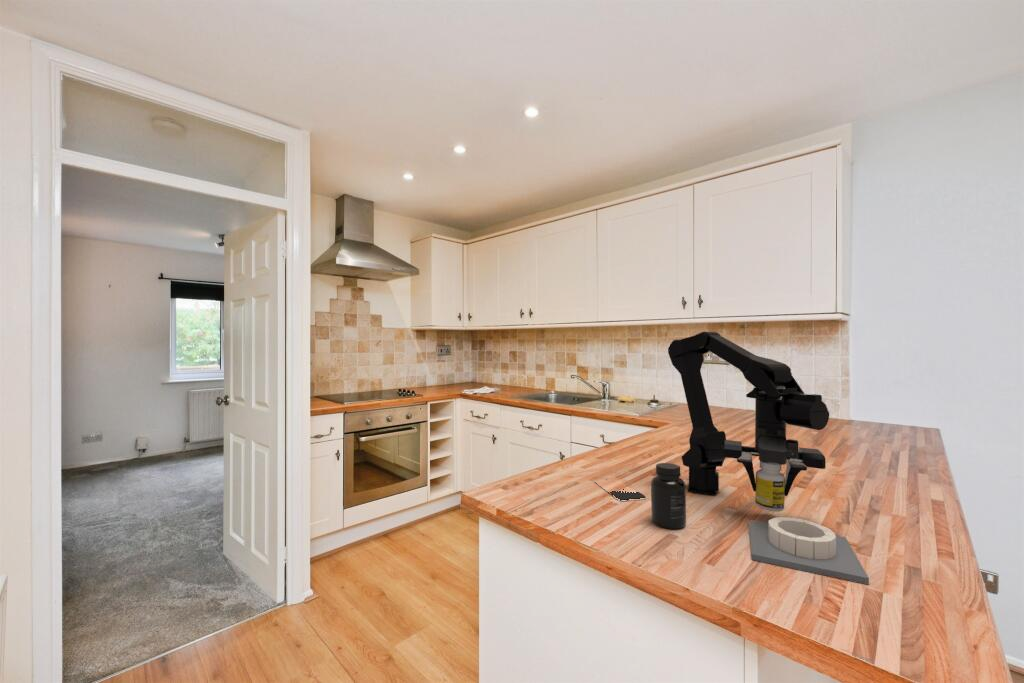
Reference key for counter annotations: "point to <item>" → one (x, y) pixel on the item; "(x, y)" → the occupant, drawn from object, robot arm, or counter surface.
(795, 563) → the bottle holder
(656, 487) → the supplement bottle
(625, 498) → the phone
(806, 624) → the counter surface
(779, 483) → the supplement bottle
